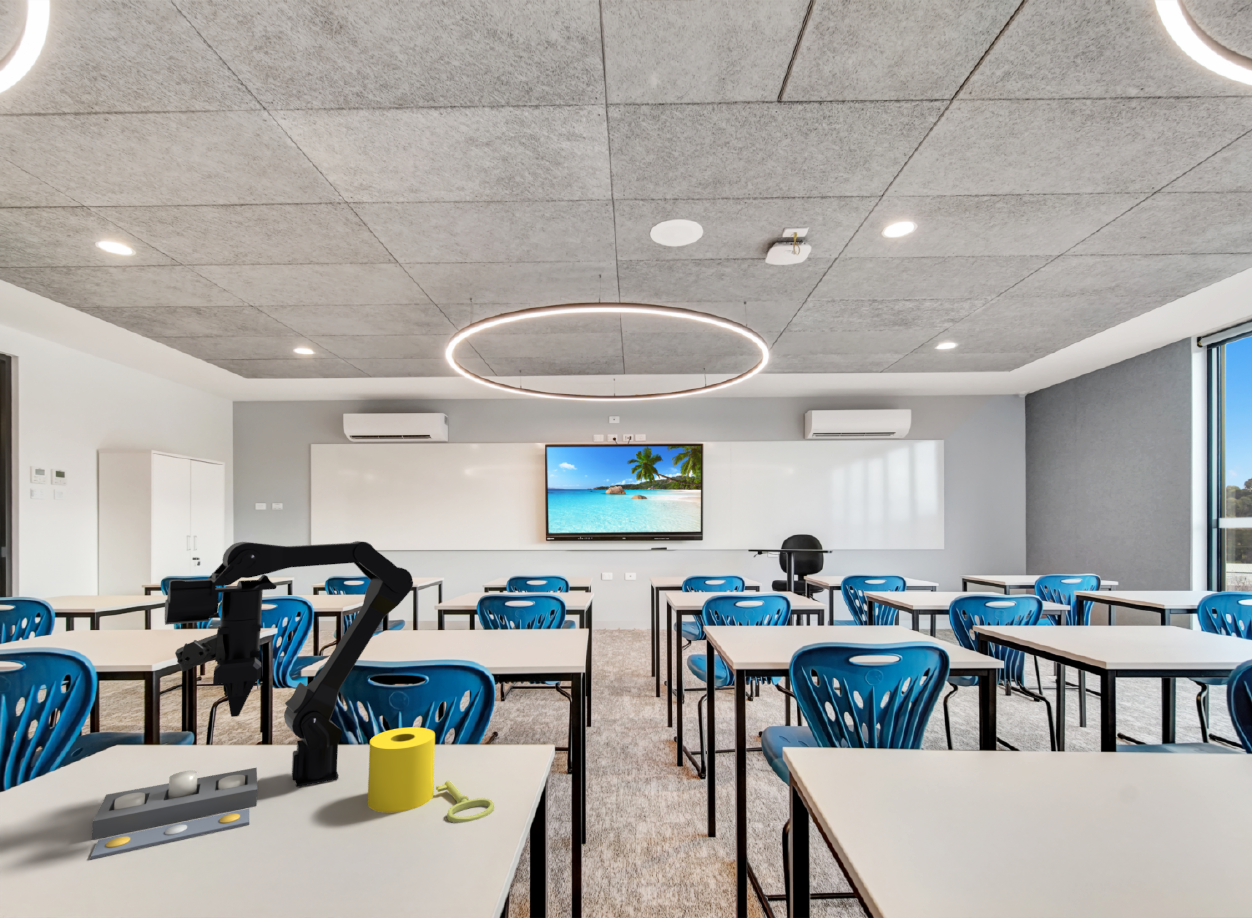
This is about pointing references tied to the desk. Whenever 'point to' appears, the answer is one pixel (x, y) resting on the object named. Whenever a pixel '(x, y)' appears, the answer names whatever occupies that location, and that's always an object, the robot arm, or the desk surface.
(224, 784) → the button
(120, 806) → the button
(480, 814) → the key
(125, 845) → the pattern card
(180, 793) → the button middle
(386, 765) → the yellow cylinder with hole
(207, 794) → the button panel
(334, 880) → the desk surface
